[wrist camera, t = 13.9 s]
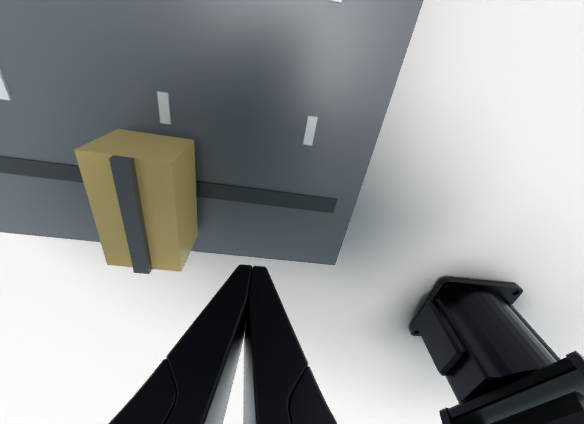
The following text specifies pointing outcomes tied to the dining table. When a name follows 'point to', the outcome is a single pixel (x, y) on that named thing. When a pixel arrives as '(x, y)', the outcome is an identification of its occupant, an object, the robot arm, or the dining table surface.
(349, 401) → the dining table surface
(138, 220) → the amber fader
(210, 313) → the robot arm
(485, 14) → the dining table surface
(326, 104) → the mixing board
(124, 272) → the dining table surface
